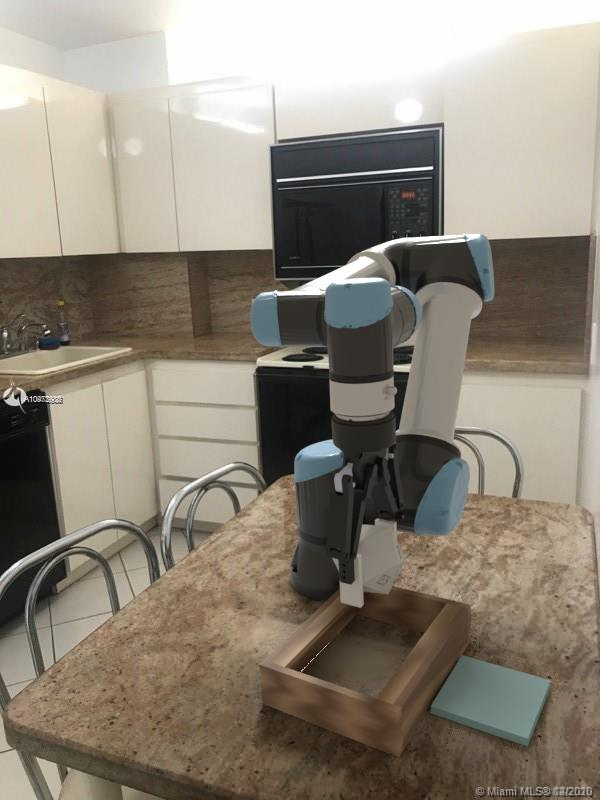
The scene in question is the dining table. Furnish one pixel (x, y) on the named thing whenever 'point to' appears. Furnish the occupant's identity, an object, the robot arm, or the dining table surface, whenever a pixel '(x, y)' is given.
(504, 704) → the pad
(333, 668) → the dining table surface
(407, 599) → the wooden tray
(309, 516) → the robot arm
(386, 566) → the die
